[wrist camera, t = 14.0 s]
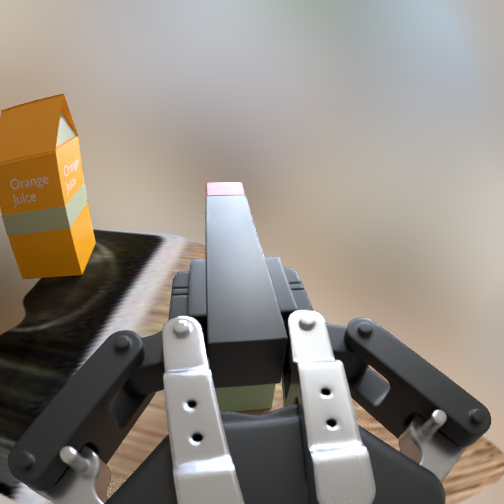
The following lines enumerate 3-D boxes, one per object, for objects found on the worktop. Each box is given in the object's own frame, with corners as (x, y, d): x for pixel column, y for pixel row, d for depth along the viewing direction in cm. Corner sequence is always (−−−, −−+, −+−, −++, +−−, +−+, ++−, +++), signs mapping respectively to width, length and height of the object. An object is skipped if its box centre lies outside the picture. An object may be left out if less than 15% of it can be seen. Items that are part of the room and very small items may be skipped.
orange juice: (82, 275, 32) (50, 96, 22) (22, 279, 31) (-18, 116, 20) (96, 242, 39) (76, 91, 28) (42, 247, 37) (15, 106, 27)
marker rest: (271, 408, 20) (279, 360, 17) (199, 413, 19) (190, 366, 17) (263, 365, 23) (267, 314, 21) (198, 369, 23) (191, 318, 20)
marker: (280, 383, 10) (288, 338, 9) (212, 388, 10) (207, 343, 9) (240, 213, 22) (241, 181, 21) (206, 214, 22) (206, 182, 21)
